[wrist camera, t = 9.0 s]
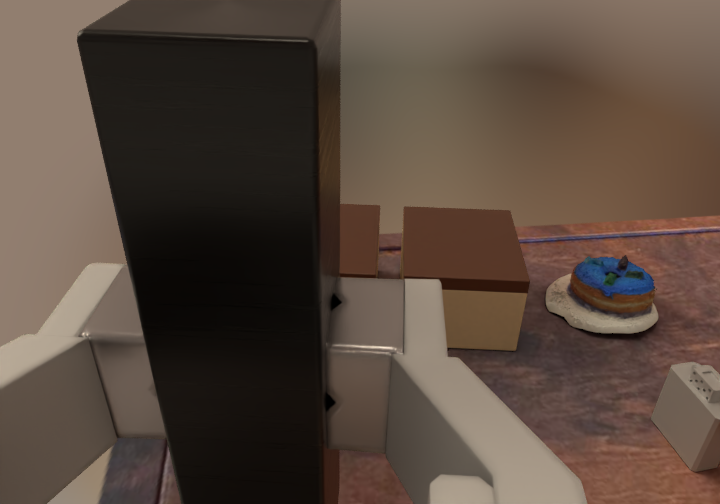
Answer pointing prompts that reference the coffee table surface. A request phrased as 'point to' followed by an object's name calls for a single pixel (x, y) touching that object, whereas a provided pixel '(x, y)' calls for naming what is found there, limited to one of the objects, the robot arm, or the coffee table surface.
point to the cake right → (469, 272)
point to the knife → (229, 229)
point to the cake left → (359, 240)
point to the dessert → (605, 296)
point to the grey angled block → (691, 414)
